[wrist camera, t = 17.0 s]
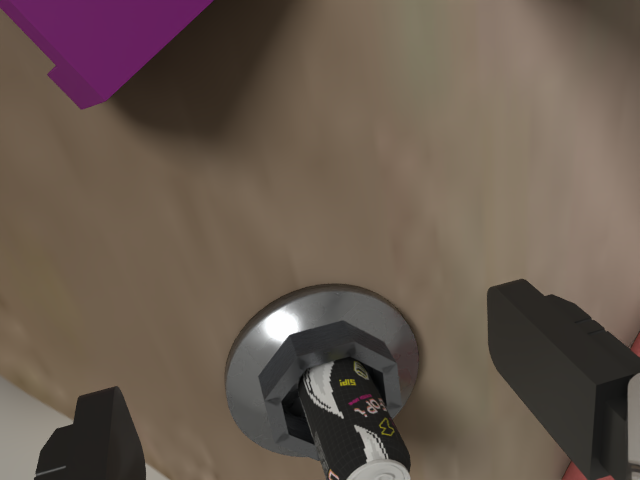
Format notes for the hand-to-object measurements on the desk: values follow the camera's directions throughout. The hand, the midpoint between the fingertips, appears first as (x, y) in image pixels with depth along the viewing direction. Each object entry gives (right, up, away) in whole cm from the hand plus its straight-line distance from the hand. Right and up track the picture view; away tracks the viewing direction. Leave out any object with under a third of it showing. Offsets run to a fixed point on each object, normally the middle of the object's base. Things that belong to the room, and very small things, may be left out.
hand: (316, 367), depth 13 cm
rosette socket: (0, -8, +38) cm, 39 cm away
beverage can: (+1, -8, +37) cm, 38 cm away
